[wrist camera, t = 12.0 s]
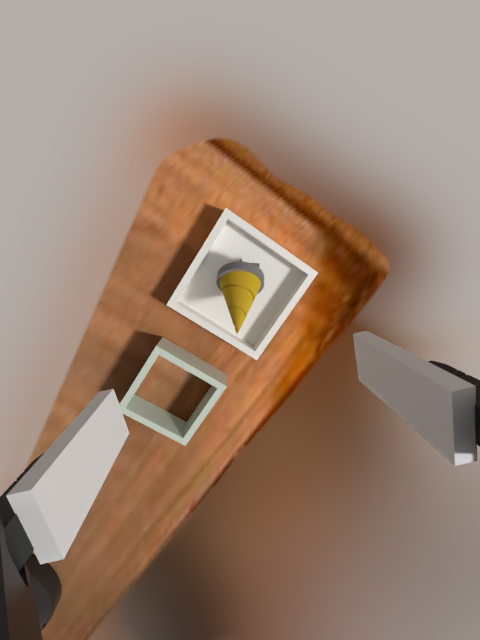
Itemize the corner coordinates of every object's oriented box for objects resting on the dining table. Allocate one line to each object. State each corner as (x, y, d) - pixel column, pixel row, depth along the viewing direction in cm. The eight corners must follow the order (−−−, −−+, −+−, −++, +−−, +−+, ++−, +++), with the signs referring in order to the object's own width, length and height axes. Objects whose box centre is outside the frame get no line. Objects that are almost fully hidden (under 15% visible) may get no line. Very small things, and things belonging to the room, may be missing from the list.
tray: (254, 353, 37) (256, 360, 34) (170, 301, 35) (166, 304, 32) (311, 271, 35) (318, 272, 32) (225, 211, 33) (225, 207, 30)
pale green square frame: (188, 429, 39) (185, 445, 35) (125, 395, 37) (116, 410, 34) (226, 374, 37) (226, 386, 34) (162, 336, 36) (156, 345, 32)
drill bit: (271, 266, 34) (272, 339, 29) (233, 277, 36) (227, 347, 31) (252, 235, 30) (249, 315, 25) (210, 251, 32) (200, 326, 27)
